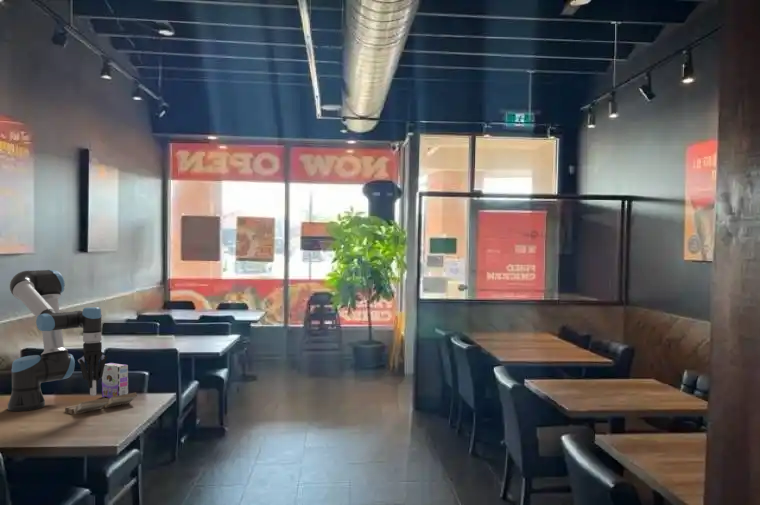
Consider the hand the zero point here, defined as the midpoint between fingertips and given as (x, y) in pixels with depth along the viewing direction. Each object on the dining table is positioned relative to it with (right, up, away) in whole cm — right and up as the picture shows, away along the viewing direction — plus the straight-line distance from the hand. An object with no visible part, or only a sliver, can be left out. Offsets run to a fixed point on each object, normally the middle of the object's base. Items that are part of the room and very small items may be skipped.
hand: (93, 394), depth 282 cm
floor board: (-3, -8, +12) cm, 15 cm away
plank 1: (-1, -6, +1) cm, 6 cm away
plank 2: (+8, -6, +12) cm, 15 cm away
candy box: (-3, -9, +31) cm, 32 cm away
